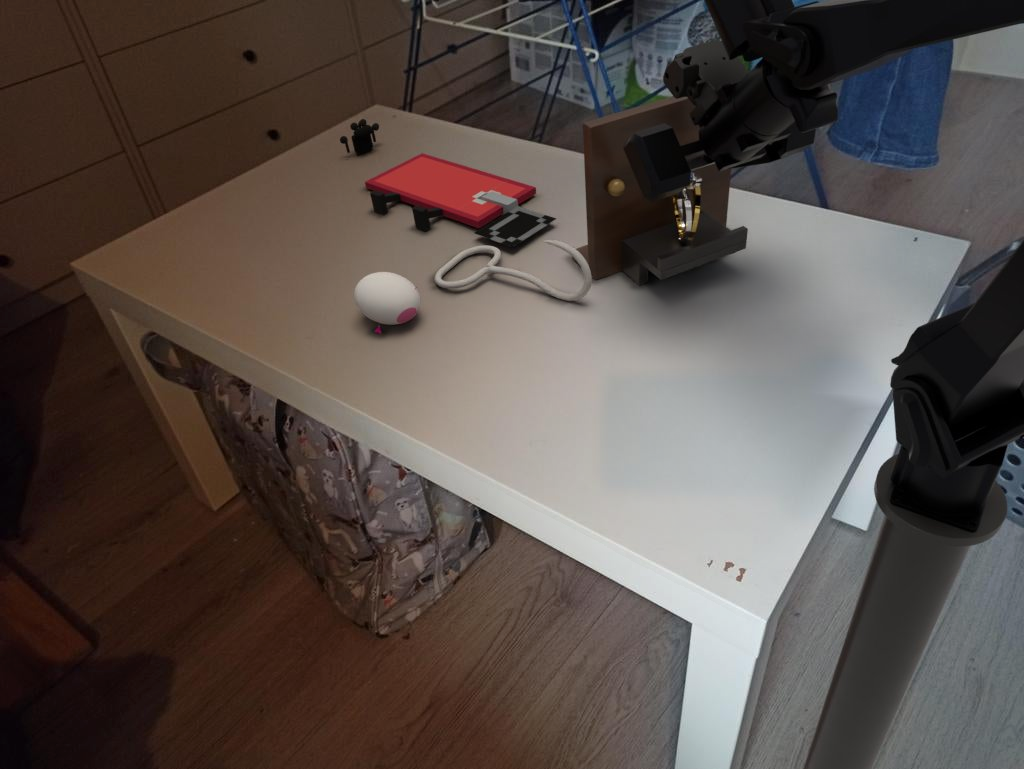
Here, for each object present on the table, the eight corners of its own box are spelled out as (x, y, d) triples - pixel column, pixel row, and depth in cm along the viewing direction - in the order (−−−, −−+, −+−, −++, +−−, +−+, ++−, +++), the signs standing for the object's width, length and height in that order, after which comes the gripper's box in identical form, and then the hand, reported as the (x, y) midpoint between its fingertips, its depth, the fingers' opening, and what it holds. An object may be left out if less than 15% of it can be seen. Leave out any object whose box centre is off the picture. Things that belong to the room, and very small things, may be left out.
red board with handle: (502, 260, 95) (580, 210, 103) (500, 240, 93) (579, 190, 101) (346, 201, 112) (423, 162, 120) (341, 182, 110) (420, 144, 118)
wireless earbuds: (380, 143, 126) (373, 112, 122) (389, 147, 124) (382, 116, 121) (343, 158, 123) (335, 127, 119) (351, 163, 121) (343, 131, 118)
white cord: (574, 327, 83) (431, 303, 94) (616, 281, 88) (476, 264, 100) (561, 265, 79) (413, 249, 90) (606, 222, 84) (461, 211, 96)
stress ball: (432, 340, 90) (444, 282, 89) (394, 342, 83) (406, 279, 82) (378, 324, 93) (389, 268, 92) (336, 324, 86) (347, 263, 85)
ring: (663, 225, 90) (665, 159, 85) (691, 222, 90) (695, 156, 85) (672, 257, 85) (675, 189, 80) (703, 255, 85) (707, 186, 79)
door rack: (768, 262, 89) (789, 105, 78) (632, 313, 85) (632, 155, 73) (698, 214, 99) (706, 68, 87) (571, 258, 94) (563, 110, 83)
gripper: (812, -4, 71) (726, 85, 86) (634, 44, 66) (575, 130, 81) (862, 109, 70) (766, 179, 85) (686, 167, 65) (617, 230, 80)
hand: (683, 177), depth 83 cm, fingers open, 9 cm apart
